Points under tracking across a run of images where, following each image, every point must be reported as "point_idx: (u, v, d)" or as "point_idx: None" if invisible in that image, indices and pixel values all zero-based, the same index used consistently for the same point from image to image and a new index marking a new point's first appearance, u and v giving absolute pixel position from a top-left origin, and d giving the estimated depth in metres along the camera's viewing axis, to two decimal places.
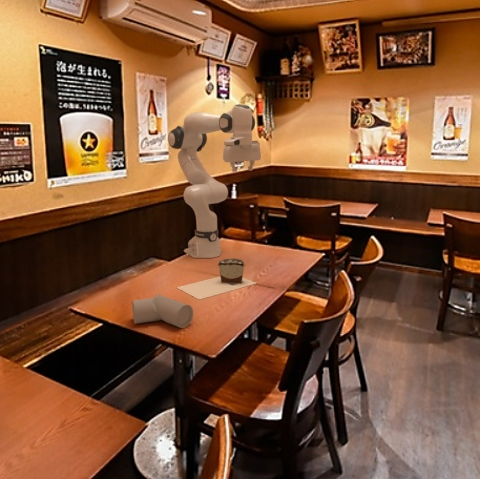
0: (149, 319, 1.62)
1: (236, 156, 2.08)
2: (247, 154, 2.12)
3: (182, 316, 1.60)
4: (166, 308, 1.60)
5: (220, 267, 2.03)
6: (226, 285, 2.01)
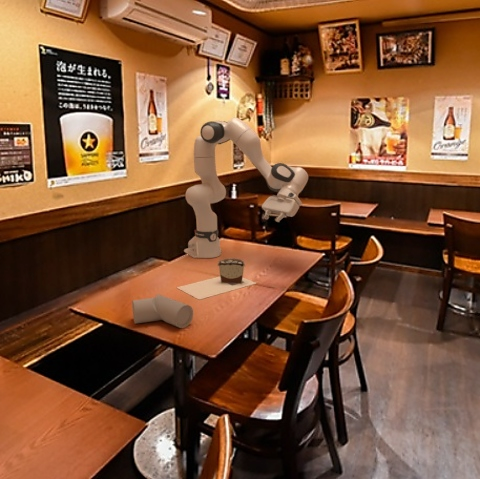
0: (149, 319, 1.63)
1: None
2: None
3: (182, 316, 1.60)
4: (166, 308, 1.60)
5: (220, 267, 2.03)
6: (226, 285, 2.01)
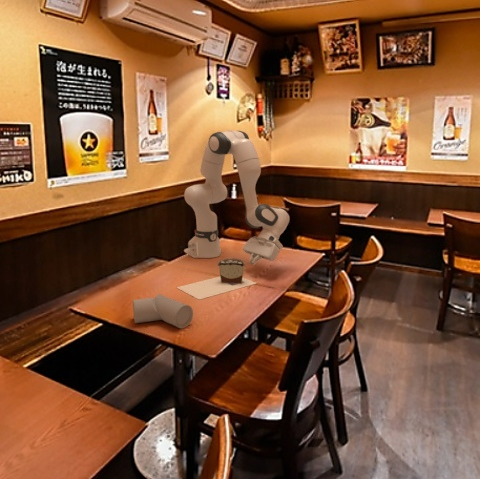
0: (149, 319, 1.63)
1: None
2: None
3: (182, 316, 1.60)
4: (166, 308, 1.60)
5: (220, 267, 2.03)
6: (226, 285, 2.01)
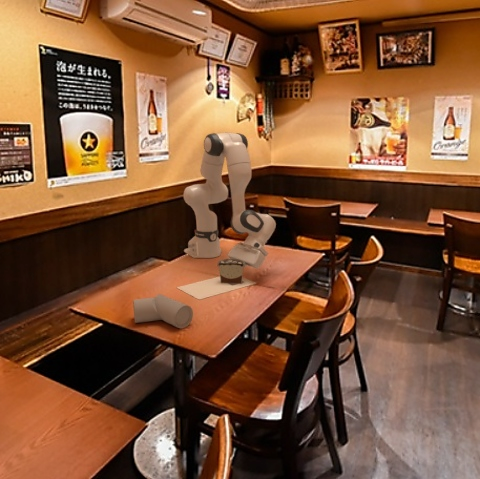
0: (149, 319, 1.63)
1: None
2: None
3: (181, 316, 1.60)
4: (165, 308, 1.60)
5: (220, 267, 2.02)
6: (226, 285, 2.01)
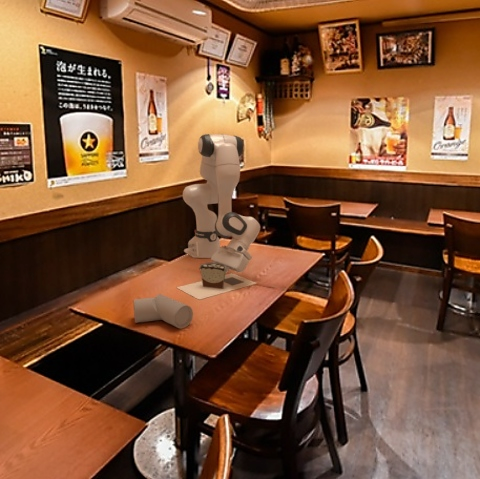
0: (149, 318, 1.63)
1: None
2: None
3: (181, 316, 1.60)
4: (165, 308, 1.60)
5: (202, 270, 1.98)
6: (226, 285, 2.01)
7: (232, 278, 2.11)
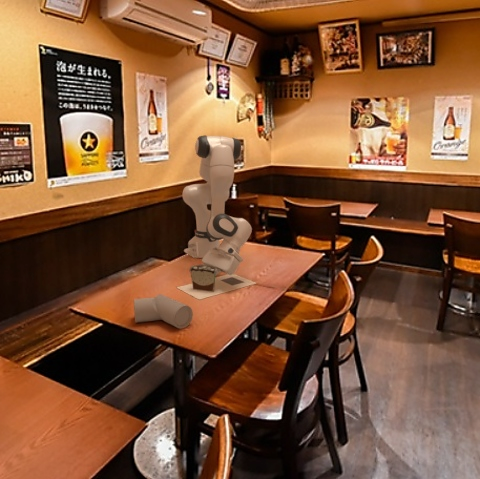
0: (149, 318, 1.63)
1: None
2: None
3: (181, 317, 1.59)
4: (165, 308, 1.60)
5: (192, 273, 1.95)
6: (226, 285, 2.01)
7: (232, 278, 2.11)
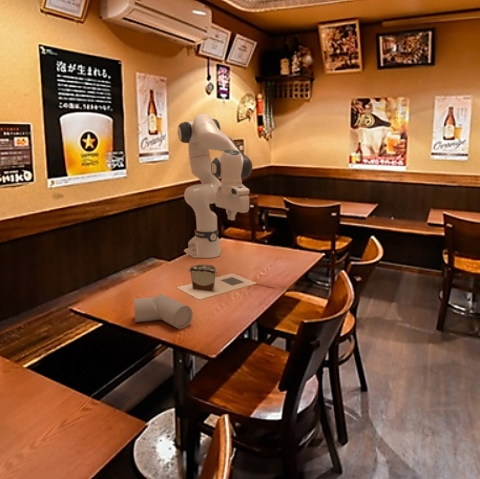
0: (149, 318, 1.63)
1: None
2: None
3: (180, 317, 1.59)
4: (165, 308, 1.60)
5: (191, 273, 1.95)
6: (226, 285, 2.01)
7: (232, 278, 2.11)
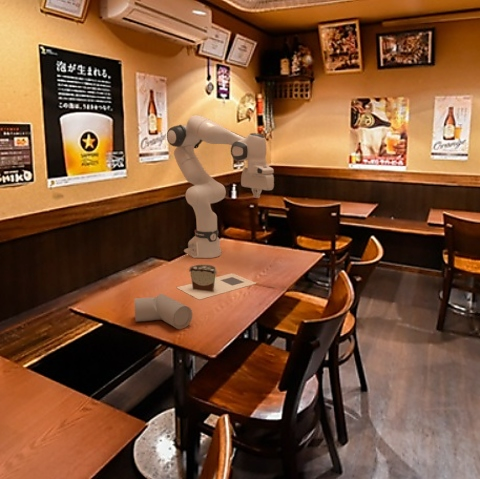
0: (149, 318, 1.63)
1: None
2: None
3: (180, 317, 1.59)
4: (165, 308, 1.60)
5: (191, 273, 1.95)
6: (226, 285, 2.01)
7: (232, 278, 2.11)
